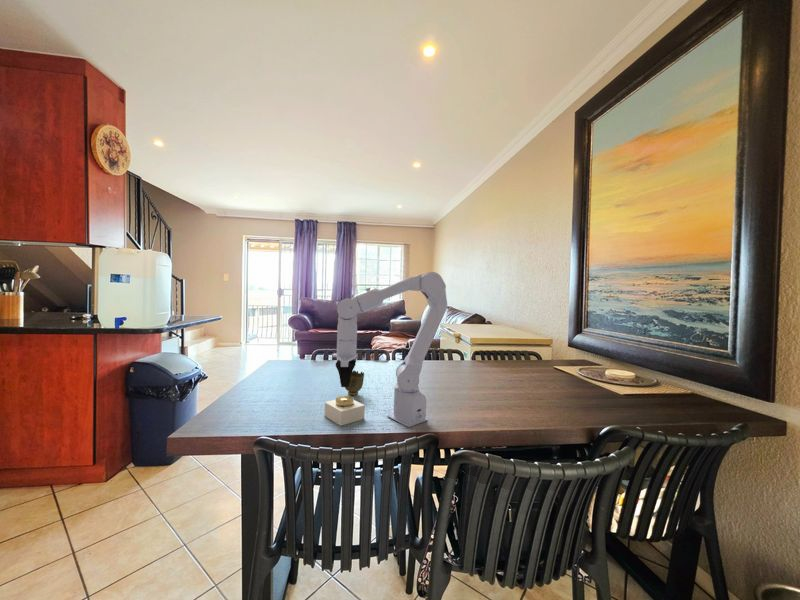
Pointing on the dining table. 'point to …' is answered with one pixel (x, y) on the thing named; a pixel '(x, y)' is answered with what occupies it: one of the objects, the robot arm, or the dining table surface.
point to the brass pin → (344, 401)
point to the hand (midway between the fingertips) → (345, 385)
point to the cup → (355, 383)
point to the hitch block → (344, 412)
